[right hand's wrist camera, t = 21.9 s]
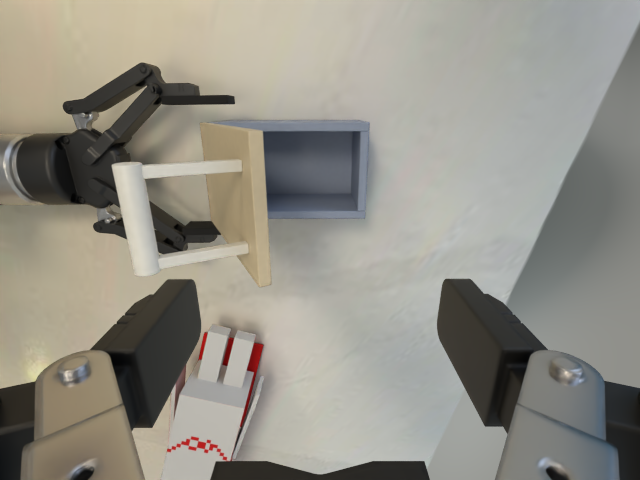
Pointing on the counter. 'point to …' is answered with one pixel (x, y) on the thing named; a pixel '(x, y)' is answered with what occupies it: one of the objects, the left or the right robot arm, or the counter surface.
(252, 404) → the toy
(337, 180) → the chest
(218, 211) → the lid
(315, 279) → the counter surface
